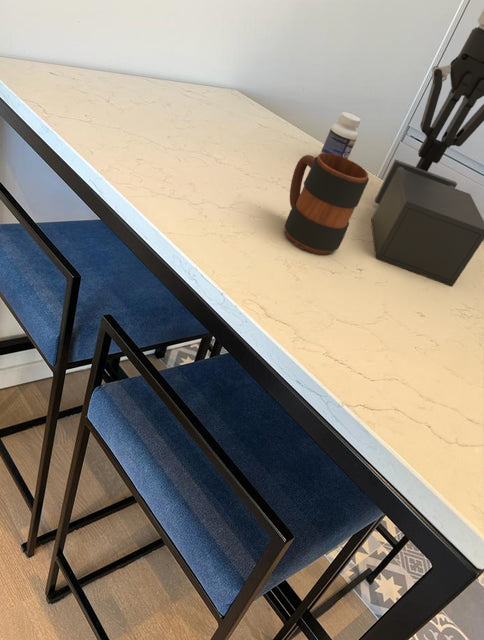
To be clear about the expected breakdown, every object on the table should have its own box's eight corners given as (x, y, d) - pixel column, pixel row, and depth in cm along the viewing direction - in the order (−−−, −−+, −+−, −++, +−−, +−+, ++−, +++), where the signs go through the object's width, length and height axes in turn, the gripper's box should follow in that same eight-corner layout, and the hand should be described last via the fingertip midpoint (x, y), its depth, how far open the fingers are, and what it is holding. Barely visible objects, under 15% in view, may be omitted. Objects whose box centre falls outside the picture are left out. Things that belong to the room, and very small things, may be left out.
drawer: (373, 190, 107) (392, 150, 102) (429, 211, 107) (451, 172, 103) (378, 231, 92) (402, 187, 88) (443, 255, 93) (470, 212, 88)
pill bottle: (340, 173, 111) (362, 124, 105) (315, 163, 112) (335, 113, 106) (344, 166, 115) (366, 118, 110) (320, 156, 116) (340, 108, 110)
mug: (298, 212, 91) (328, 141, 84) (348, 254, 84) (385, 181, 77) (257, 214, 86) (285, 138, 78) (307, 258, 79) (342, 180, 72)
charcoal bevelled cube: (371, 219, 98) (397, 167, 92) (439, 244, 98) (470, 193, 92) (375, 258, 86) (406, 201, 80) (452, 286, 87) (489, 231, 81)
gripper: (463, 22, 84) (385, 170, 98) (543, 55, 85) (453, 197, 99) (455, 15, 90) (382, 156, 104) (530, 46, 90) (447, 181, 105)
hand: (417, 176), depth 102 cm, fingers closed
